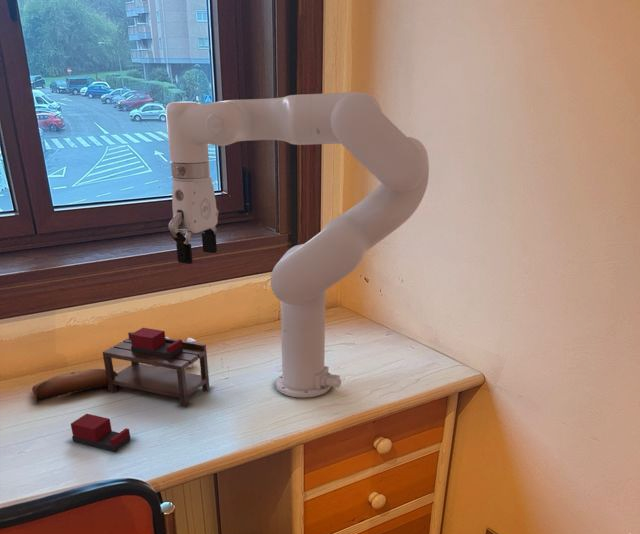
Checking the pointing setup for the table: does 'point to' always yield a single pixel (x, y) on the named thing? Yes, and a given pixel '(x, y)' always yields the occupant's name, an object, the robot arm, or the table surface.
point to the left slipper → (98, 433)
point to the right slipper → (154, 343)
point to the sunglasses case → (70, 383)
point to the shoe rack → (158, 370)
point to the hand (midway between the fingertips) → (198, 257)
